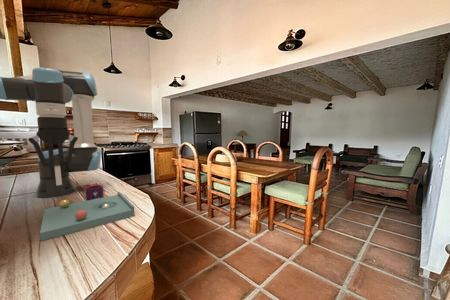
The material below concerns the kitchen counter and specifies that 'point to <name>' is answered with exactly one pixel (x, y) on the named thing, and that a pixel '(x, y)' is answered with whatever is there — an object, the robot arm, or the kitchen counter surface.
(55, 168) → the robot arm
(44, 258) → the kitchen counter surface
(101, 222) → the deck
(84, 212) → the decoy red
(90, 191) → the mug
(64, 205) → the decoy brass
